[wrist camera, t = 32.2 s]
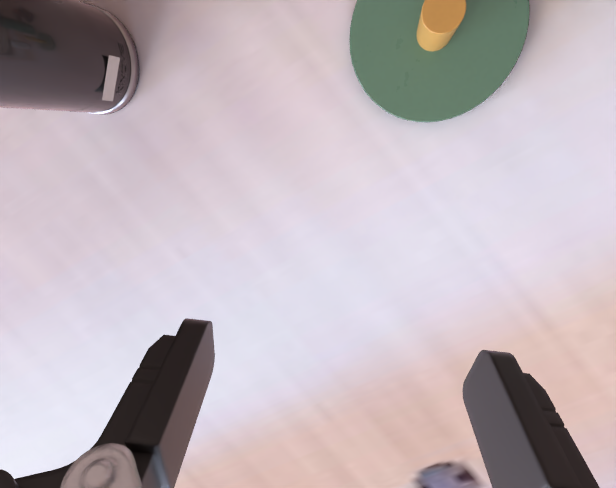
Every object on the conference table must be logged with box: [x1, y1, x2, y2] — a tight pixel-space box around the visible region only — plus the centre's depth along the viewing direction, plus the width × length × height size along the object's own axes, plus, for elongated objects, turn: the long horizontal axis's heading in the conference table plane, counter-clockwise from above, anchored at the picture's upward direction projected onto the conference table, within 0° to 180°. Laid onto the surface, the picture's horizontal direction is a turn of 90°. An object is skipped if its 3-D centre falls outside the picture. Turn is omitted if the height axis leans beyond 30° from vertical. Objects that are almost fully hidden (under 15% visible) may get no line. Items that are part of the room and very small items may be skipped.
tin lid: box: [350, 0, 529, 122], centre depth 25 cm, size 13×13×7 cm
